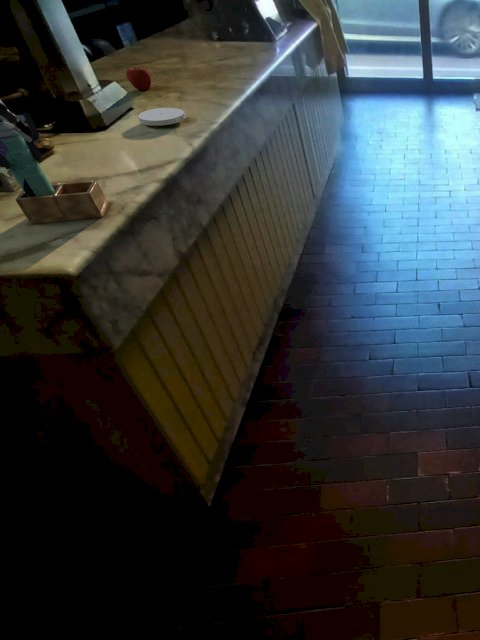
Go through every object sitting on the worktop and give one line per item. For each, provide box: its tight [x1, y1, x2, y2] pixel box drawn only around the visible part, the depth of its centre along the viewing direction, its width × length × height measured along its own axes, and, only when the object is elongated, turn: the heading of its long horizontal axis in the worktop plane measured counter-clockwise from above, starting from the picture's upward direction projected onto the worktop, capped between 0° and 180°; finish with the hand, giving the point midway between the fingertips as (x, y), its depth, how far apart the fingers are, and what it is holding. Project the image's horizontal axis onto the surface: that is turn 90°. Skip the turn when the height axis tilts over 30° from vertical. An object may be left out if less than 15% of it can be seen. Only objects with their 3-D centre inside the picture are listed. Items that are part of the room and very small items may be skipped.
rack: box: [15, 180, 109, 225], centre depth 124 cm, size 15×8×6 cm, turn 109°
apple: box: [125, 66, 152, 91], centre depth 198 cm, size 8×8×8 cm
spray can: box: [0, 119, 55, 197], centre depth 116 cm, size 6×6×20 cm
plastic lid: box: [137, 107, 187, 127], centre depth 174 cm, size 14×14×2 cm
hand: (23, 163), depth 115 cm, fingers closed on spray can, 5 cm apart
